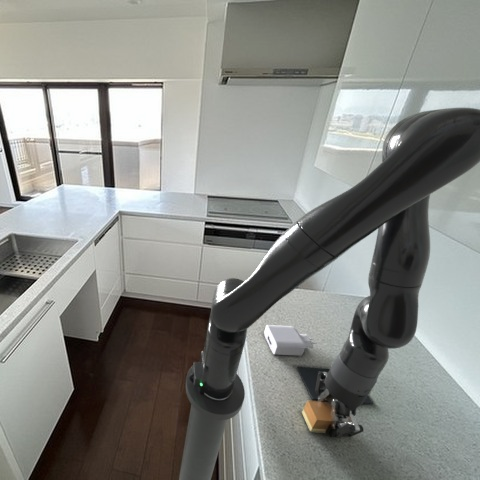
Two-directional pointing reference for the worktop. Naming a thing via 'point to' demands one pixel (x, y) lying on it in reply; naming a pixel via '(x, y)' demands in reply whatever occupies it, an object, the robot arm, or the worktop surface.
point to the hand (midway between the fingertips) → (324, 422)
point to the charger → (287, 340)
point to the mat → (310, 381)
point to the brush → (317, 416)
